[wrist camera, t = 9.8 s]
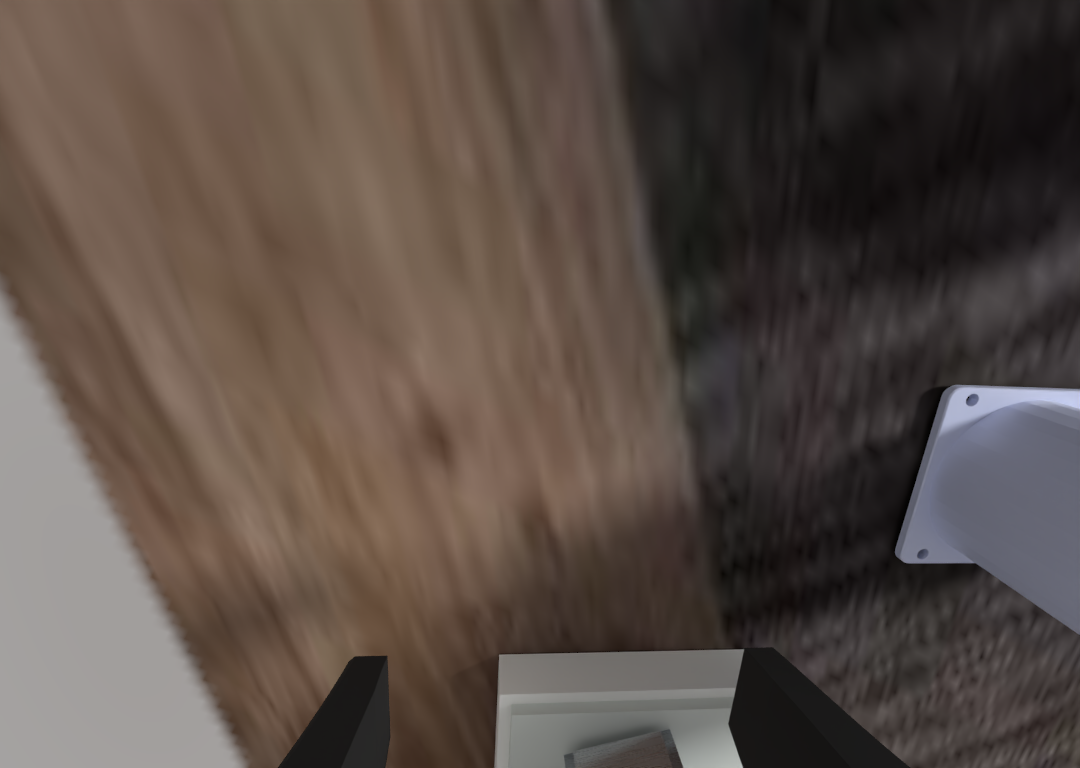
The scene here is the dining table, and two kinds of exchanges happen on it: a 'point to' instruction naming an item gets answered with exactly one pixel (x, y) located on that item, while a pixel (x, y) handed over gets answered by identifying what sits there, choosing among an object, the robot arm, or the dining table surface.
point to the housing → (629, 753)
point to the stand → (615, 704)
